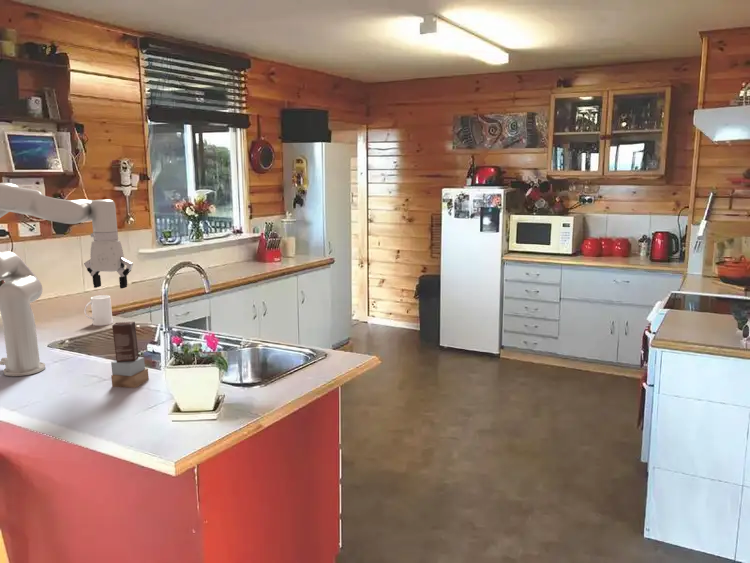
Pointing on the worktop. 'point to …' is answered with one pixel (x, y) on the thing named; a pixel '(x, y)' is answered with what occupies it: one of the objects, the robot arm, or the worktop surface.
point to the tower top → (128, 367)
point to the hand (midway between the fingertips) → (110, 287)
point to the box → (125, 341)
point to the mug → (100, 310)
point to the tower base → (130, 379)
